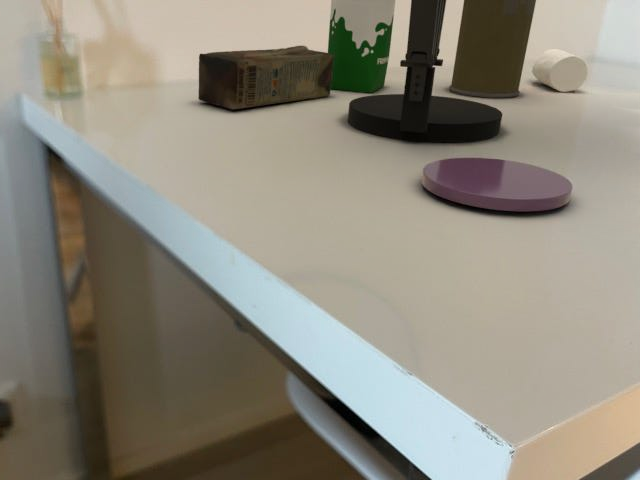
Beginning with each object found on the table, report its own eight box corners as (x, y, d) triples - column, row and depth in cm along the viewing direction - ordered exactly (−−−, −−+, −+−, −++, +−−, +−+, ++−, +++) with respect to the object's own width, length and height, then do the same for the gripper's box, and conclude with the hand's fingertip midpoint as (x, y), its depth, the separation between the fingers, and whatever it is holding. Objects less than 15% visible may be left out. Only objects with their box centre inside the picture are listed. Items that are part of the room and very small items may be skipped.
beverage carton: (334, 96, 95) (337, 48, 92) (234, 113, 83) (234, 58, 80) (294, 88, 100) (296, 42, 97) (194, 103, 88) (193, 51, 85)
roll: (556, 80, 115) (564, 46, 112) (583, 92, 104) (592, 55, 102) (521, 79, 115) (528, 45, 112) (545, 91, 104) (553, 53, 102)
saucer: (564, 181, 60) (568, 166, 59) (573, 225, 50) (578, 207, 49) (429, 166, 63) (431, 151, 63) (411, 203, 53) (414, 187, 52)
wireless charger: (379, 144, 70) (381, 125, 69) (329, 110, 86) (330, 95, 85) (529, 140, 74) (533, 122, 73) (455, 108, 89) (457, 93, 89)
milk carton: (376, 94, 98) (392, -59, 89) (318, 88, 101) (328, -60, 92) (391, 86, 105) (407, -56, 96) (336, 81, 108) (347, -57, 99)
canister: (480, 99, 96) (507, -56, 87) (435, 87, 104) (455, -55, 96) (536, 96, 100) (567, -53, 91) (488, 84, 109) (512, -53, 100)
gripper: (414, -119, 67) (388, 115, 78) (394, -137, 56) (367, 139, 67) (491, -120, 65) (453, 121, 76) (486, -138, 54) (443, 147, 65)
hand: (413, 130), depth 71 cm, fingers closed
